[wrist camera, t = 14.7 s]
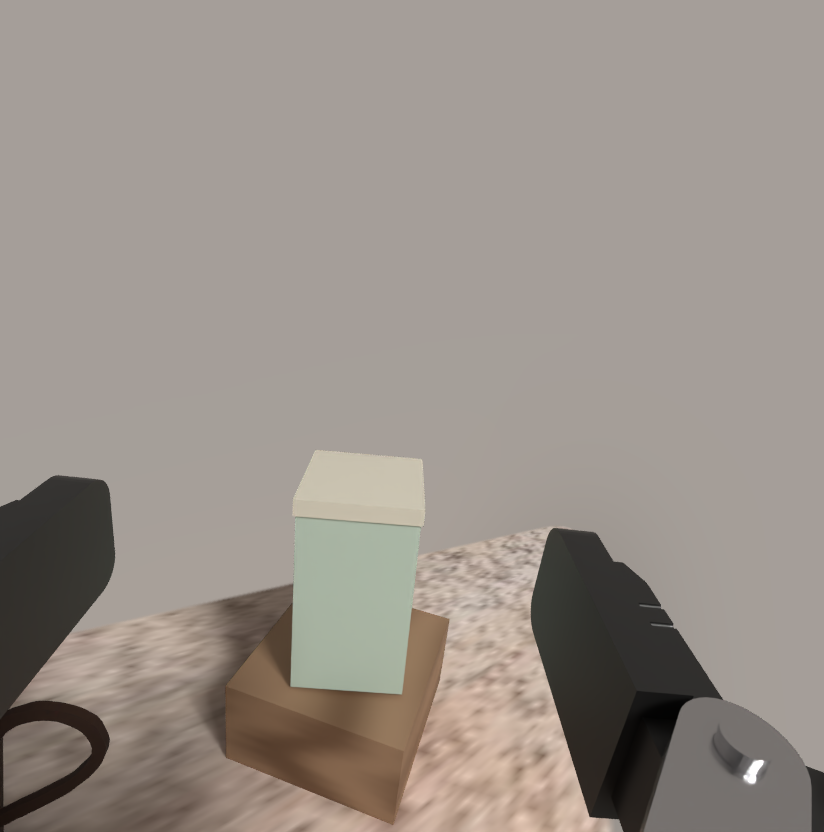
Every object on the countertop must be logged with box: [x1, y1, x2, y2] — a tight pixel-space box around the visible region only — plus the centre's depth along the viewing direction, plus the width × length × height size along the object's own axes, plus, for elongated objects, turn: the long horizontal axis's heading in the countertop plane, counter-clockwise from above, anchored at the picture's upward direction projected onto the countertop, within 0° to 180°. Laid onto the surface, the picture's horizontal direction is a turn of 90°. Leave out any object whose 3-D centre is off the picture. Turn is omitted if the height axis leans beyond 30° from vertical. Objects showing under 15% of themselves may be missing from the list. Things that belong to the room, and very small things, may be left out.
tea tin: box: [290, 450, 425, 694], centre depth 26 cm, size 6×6×10 cm
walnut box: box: [225, 603, 449, 825], centre depth 29 cm, size 9×9×5 cm
